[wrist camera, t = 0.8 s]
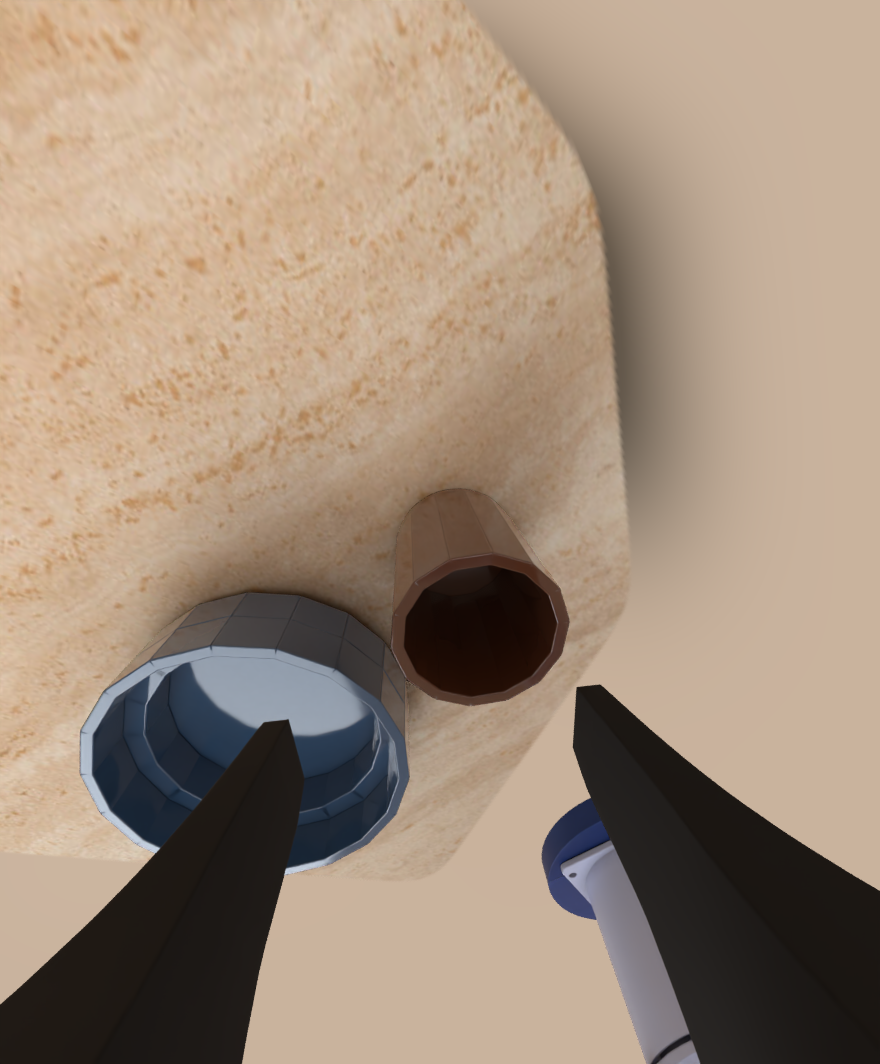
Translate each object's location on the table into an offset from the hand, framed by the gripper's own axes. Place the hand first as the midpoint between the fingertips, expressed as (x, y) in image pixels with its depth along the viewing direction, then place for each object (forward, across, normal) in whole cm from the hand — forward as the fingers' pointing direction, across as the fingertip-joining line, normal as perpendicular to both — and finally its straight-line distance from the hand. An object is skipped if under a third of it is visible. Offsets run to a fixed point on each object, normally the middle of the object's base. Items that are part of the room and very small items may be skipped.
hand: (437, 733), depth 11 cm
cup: (+10, -2, -1) cm, 10 cm away
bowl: (+10, +8, +7) cm, 14 cm away
